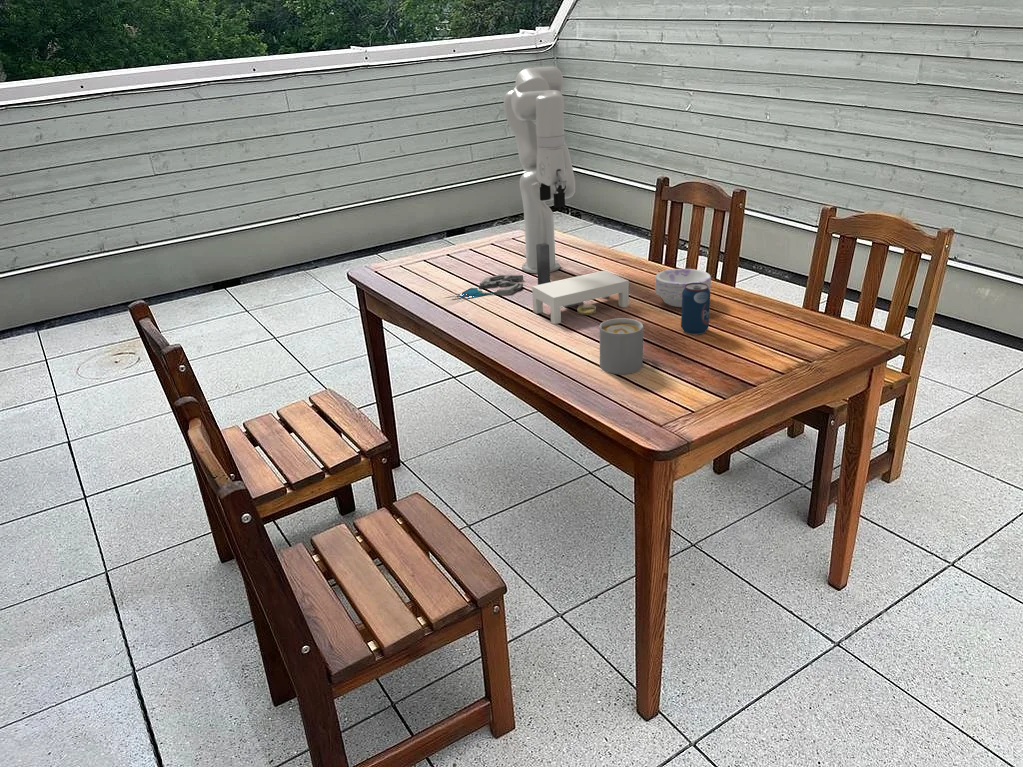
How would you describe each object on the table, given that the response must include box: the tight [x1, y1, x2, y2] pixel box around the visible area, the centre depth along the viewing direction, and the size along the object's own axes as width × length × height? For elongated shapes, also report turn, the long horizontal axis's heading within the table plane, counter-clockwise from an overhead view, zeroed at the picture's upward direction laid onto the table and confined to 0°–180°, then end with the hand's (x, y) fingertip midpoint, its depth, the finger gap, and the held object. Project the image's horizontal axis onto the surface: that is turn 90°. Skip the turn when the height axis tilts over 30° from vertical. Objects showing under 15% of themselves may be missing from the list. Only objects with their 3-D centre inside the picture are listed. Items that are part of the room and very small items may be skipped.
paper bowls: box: [654, 268, 712, 308], centre depth 216 cm, size 15×15×8 cm
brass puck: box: [576, 303, 597, 316], centre depth 215 cm, size 5×5×2 cm
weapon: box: [457, 274, 524, 300], centre depth 236 cm, size 34×2×15 cm
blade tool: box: [536, 243, 584, 308], centre depth 225 cm, size 19×6×14 cm, turn 27°
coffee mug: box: [598, 317, 644, 375], centre depth 180 cm, size 13×10×10 cm
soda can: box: [680, 283, 711, 336], centre depth 196 cm, size 7×7×12 cm
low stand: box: [531, 270, 630, 325], centre depth 216 cm, size 12×24×8 cm, turn 117°
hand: (552, 203), depth 221 cm, fingers open, 9 cm apart
